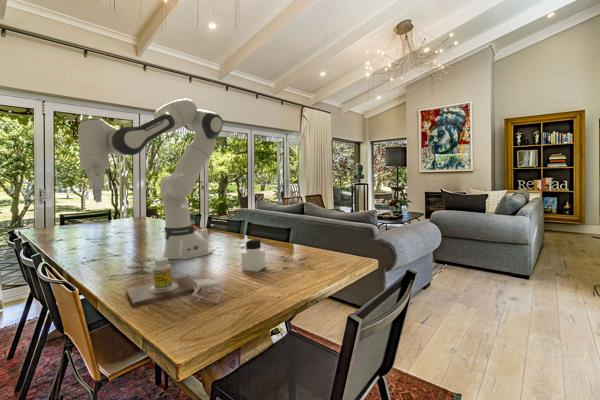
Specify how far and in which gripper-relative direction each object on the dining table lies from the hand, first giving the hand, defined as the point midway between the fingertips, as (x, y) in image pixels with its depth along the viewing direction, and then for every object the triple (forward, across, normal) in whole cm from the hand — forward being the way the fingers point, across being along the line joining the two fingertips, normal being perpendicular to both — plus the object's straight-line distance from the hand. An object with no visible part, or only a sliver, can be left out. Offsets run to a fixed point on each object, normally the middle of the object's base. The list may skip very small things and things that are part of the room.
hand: (97, 201), depth 113 cm
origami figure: (+30, -43, -25) cm, 57 cm away
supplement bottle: (+28, -29, -15) cm, 43 cm away
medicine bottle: (+29, -26, -50) cm, 64 cm away
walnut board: (+29, -29, -15) cm, 44 cm away
